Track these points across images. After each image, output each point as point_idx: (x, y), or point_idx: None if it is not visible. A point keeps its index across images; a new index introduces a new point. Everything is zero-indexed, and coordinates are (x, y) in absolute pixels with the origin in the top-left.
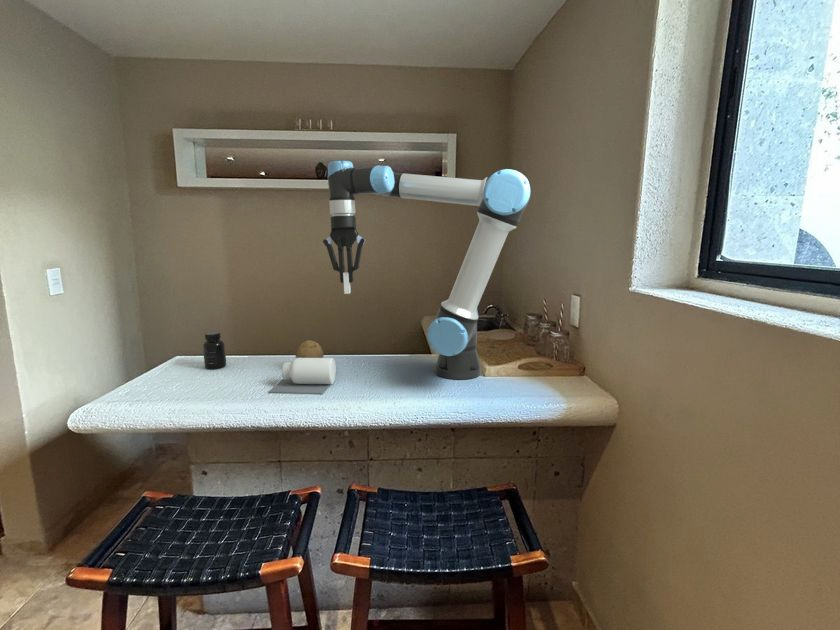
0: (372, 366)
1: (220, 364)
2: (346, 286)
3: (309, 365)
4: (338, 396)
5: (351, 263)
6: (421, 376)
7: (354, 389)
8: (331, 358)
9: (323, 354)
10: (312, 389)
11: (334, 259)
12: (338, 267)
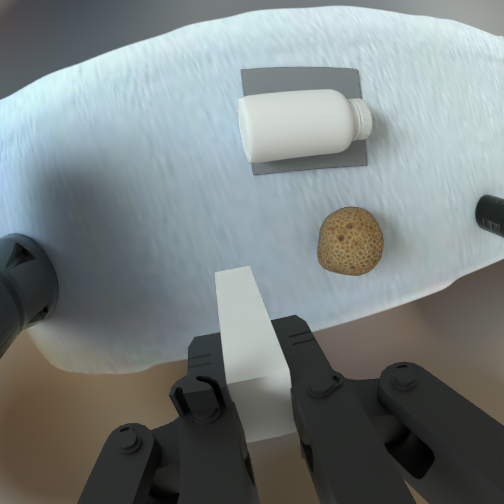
0: (196, 281)
1: (482, 203)
2: (236, 294)
3: (299, 96)
4: (201, 67)
5: (184, 498)
6: (68, 237)
7: (179, 113)
8: (251, 129)
9: (320, 263)
10: (273, 86)
11: (473, 464)
12: (373, 416)
